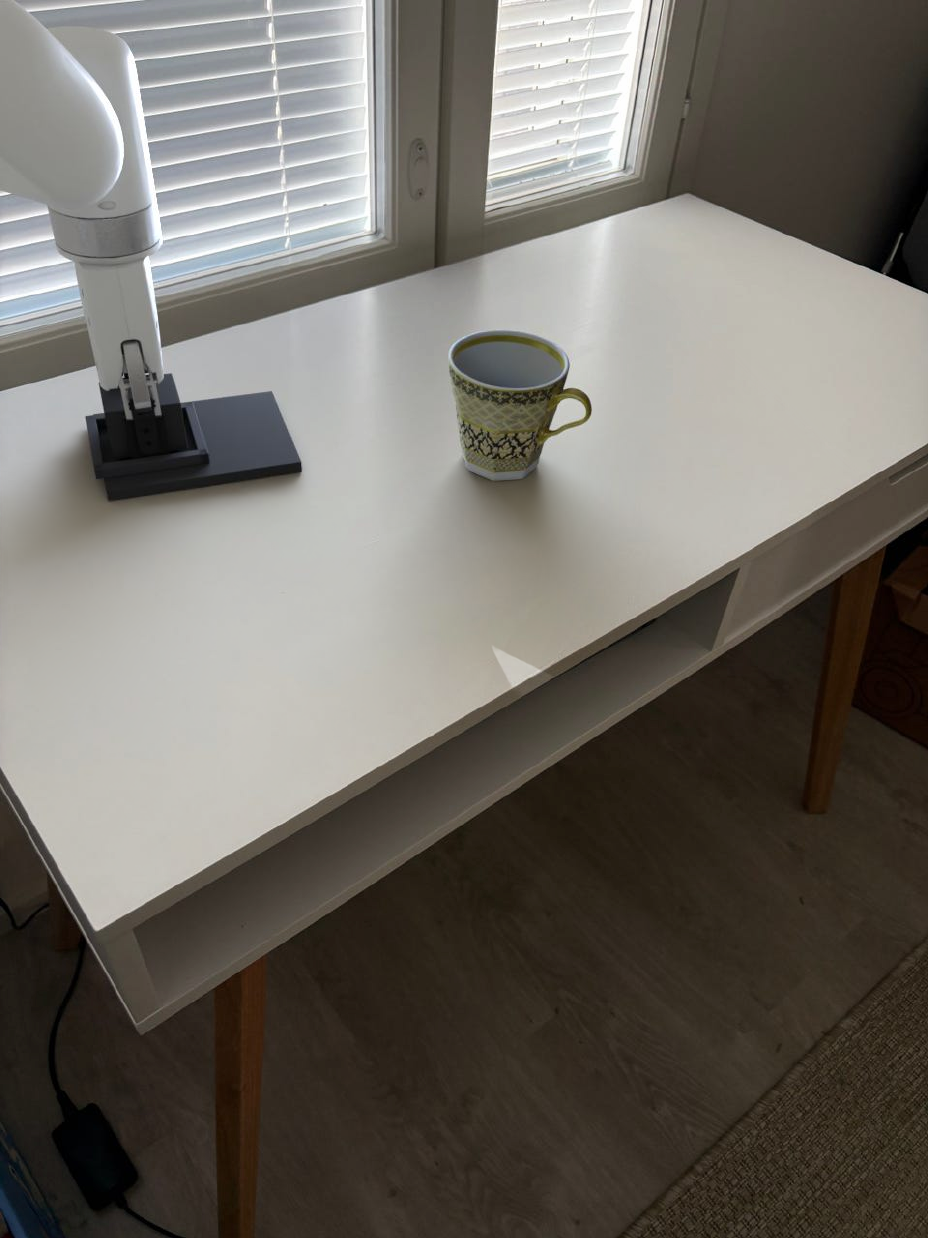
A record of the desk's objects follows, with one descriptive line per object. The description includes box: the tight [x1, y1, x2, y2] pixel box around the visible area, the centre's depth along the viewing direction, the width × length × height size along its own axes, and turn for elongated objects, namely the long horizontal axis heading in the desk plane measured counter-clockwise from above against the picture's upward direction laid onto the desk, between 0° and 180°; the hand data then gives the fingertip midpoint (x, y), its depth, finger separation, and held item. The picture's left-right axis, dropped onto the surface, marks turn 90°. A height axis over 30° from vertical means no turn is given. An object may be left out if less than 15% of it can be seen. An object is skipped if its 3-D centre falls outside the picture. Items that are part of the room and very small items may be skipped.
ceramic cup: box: [447, 329, 593, 482], centre depth 86 cm, size 13×10×10 cm
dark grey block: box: [98, 372, 188, 460], centre depth 85 cm, size 6×5×4 cm
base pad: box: [84, 390, 303, 502], centre depth 88 cm, size 17×12×2 cm
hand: (146, 434), depth 86 cm, fingers closed on dark grey block, 5 cm apart
